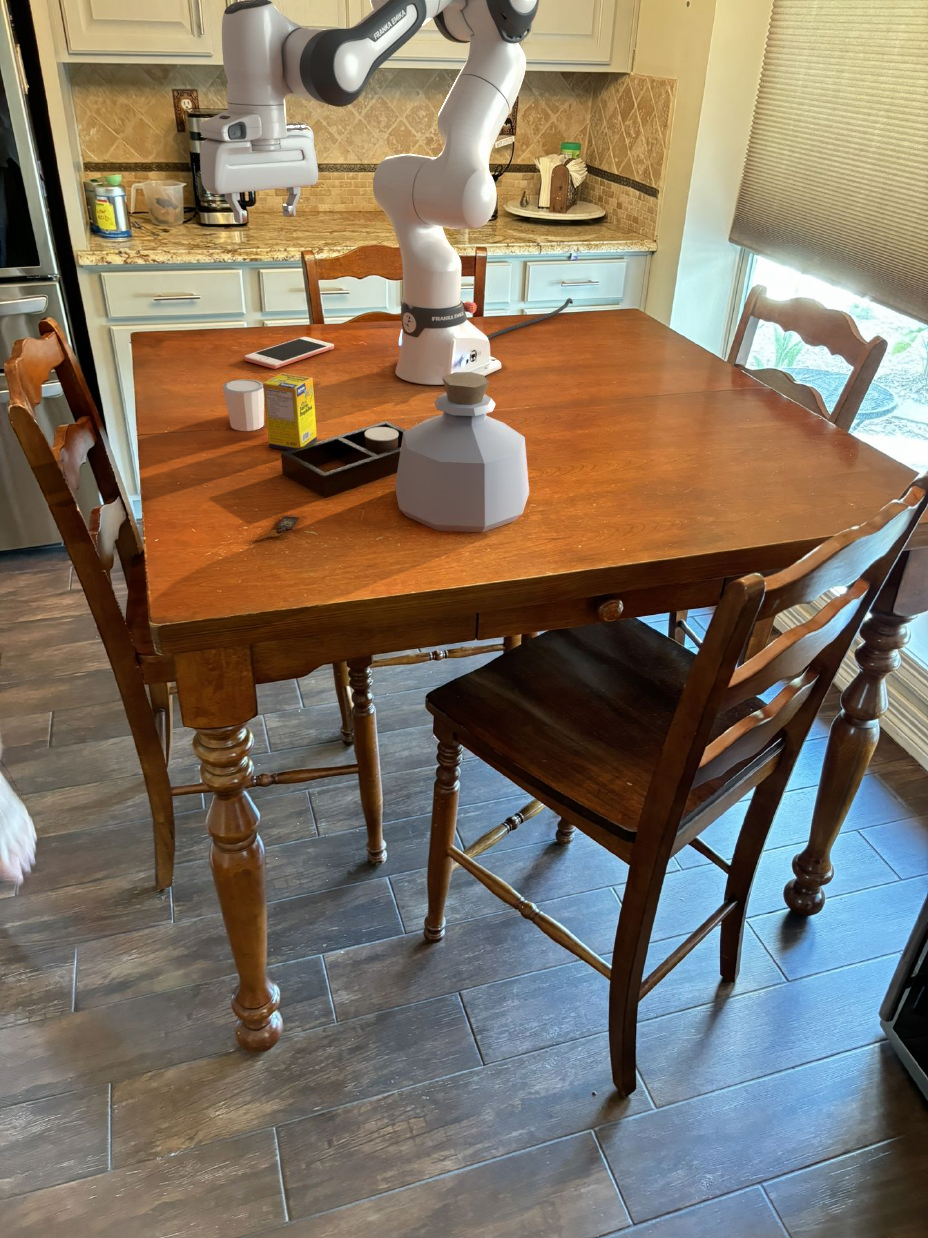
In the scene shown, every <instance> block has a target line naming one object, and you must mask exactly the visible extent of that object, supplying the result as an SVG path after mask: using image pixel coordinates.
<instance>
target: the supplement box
mask: <svg viewBox="0 0 928 1238" xmlns="http://www.w3.org/2000/svg"><path fill="white" fill-rule="evenodd" d="M263 390H264V412H265V419H266V428H267V429H266V430H267V438H268V440H267V441H268V447H269V448H272V449H278V450H285V451H290V450H293V449H296V448H300V447H303V446H306V445H309V444H313V443H316V442H317V440H318V438H317V421H316V420H317V419H316V407H315V392H314V378H313V377H310V376H304V375H298V374H297V375H296V374H292V373H285V372H279V373H278V374H276V375H275V376H273V377H272V378H269V379H268V380H266V381H264V382H263Z"/></svg>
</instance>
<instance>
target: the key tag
mask: <svg viewBox="0 0 928 1238" xmlns="http://www.w3.org/2000/svg"><path fill="white" fill-rule="evenodd" d="M298 520H299V516H290V515H289V516H288V515H284V516H282V518H281V520H280V521H279V523H278V524H277V526H276V529H272V530H271V529H270V530H269V531H268V533H265V535H261V536H259V537H256V538H255V542H258V541H261V540H264V539H268V538H269V539H270V538H278V537H280V536H281V535H282V534H283V533H285V532H286V530H289V531H293V529H294V527H295V526H296V524H297V522H298Z"/></svg>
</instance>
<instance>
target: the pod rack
mask: <svg viewBox="0 0 928 1238" xmlns="http://www.w3.org/2000/svg"><path fill="white" fill-rule="evenodd" d="M376 427H387V428H392V429H395V430H396V431H398V433H399V435H398V448H397V449H394V450H391V451H388V452H385V453H382V454H379V455H377V454H375V453H373V452H371V451H369V450H367V449H366V447H365V431H367V430H368V429H371V428H376ZM406 430H407V429H405V428H402V427H400V426H399V425H396V424H394V423H391V422H389V421H387V420H384V421H381V422H377V423H375V424H371V425H368V426H365V427H361V428H359V429H355V430H352V431H348V432H346V433H343V434H339V435H336V436H332V437H329V438H325V439H323V440H320V441H315V442H314V443H312V444H309V445H306V446H303V447H300V448H296V449H293V450H290V451H289V450H286V451H284V452H281V453H280V460H281V471H282V476H283V475H284V476H285V477H287V478H289V479H291V480H293V481H294V482H296V483H298V484H300V485H302V486H303V487H305V488H306V489H309V490H310V491H313V492H314V493H316V494H318V495H319V496H321V497H323V498H325V499H327V498H329V497H332V496H335V495H338V494H341V493H343V492H347V491H349V490H352V489H355V488H357V487H361V486H364V485H365V484H369V483H371V482H375V481H377V480H380V479H384V478H385V477H388V476H391V475H394V474H397V470H398V464H399V458H400V451H401V445H402V438H403V432H404V431H406ZM336 460H338V461H340V462H343V463H344V464H346V465H344V466H341V467H337V468H334V469H332V470H329V471H323V470H321V469H320V468H318V466H321V465H324V464H327V463H331V462H334V461H336Z"/></svg>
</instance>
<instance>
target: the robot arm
mask: <svg viewBox="0 0 928 1238" xmlns="http://www.w3.org/2000/svg"><path fill="white" fill-rule="evenodd" d="M369 2H370V6H371V10H372V11H371V12H369V13H368V14H367V15H366V16H365V17H363V18H362V19H360V20H359V22H357V23H356V24H355V25H353V26H352V27H348V28H327V29H326V28H308V27H302V25H301V24H299V23H297V22H294V21H293V20H291V19H290V18H288V16H286V15H284V14H283V13H282V12H281V11H280V10H279V9H277V7H276V6H275V4H274V2H273V1H271V0H240V1H235V2H232V3H231V4H229V5H228V6H226V8H225V9H224V11H223V14H222V20H221V22H222V23H221V51H222V53H221V54H222V62H223V63H222V64H223V70H224V71H223V72H224V74H225V77H226V80H227V95H226V104H227V105H226V106H227V109H225V110H224V111H222V112H221V113H218V114H217V115H214V116H212V117H210V118H208V119H206V120H204V121H201V122H200V124H199V132H200V135H201V137H203V138H204V139H205V140H203V141H202V143H201V146H200V149H199V150H200V151H199V160H200V161H199V165H200V167H199V168H200V178H201V183H202V186H203V188H204V189H205V191H206V192H208V193H210V194H213V195H224V198H225V201H226V202H227V204H228V205H229V207H230V209H231V210H232V213H233V215H232V216H233V221H234V222H235V223H236V224H243V223H244V224H245V223H248V211H247V210H244V209H242V207H241V205H240V204H239V202H238V201H240V200H241V196H240V193H249V192H250V193H251V192H258V191H268V190H269V191H270V190H278V189H279V190H280V189H285V191H286V193H287V194H288V196H287V199H286V203H284V204H281V209H282V216H283V217H286V218H293V217H294V218H295V217H296V215H297V211H296V206H297V204H298V201H299V200H300V199H299V198H300V197H301V193H302V192H301V187H310V186H316V184H317V182H318V180H319V167H318V166H319V165H318V159H317V154H316V149H315V134H314V131H313V130H312V128H311V127H310V126H309V125H307V124H306V122H299V121H298V122H287V112H286V96H287V97H290V98H294V99H302V100H305V101H311V102H312V101H313V102H318V103H319V102H320V103H323V104H325V105H328V106H331V107H336V108H342V107H344V108H345V107H347V106H350V105H351V104H353V103H354V102H355V101H357V100H358V99H359V98H360V96H361V95H362V94H363V92H364V90H365V89H366V88H367V86H368V84H369V82H370V80H371V78H372V77H373V75H374V74H375V73H376V71H377V70H378V69H379V68H380V67H381V66H382V65H383V64H384V63H385V62H386V61H387V60H388V59H390V58H391V57H392V56H393V55H395V53H397V51H399V50H400V49H401V48H402V47H403V46H404V45H406V44H407V42H409V41H410V40H411V39H412V38H413V37H414V36H415V35H416V34H417V33H418V32H419V31H420V29H421V28H422V27H423V26H424V25H425V24H427V23H428V22H429V21H431V20H433V22H434V24H435V26H436V28H437V30H438V32H439V33H440V34H441V35H442V36H443V37H444V38H445V39H446V40H447V41H449V42H452V43H456V44H469V50H468V55H467V58H466V61H465V64H464V65H463V67H462V68H461V70H460V72H459V74H458V75H457V77H456V79H455V81H454V83H453V85H452V87H451V89H450V91H449V92H448V94H447V96H446V98H445V100H444V102H443V104H442V106H441V108H440V109H439V111H438V114H437V119H436V120H437V121H436V122H437V129H438V133H439V135H440V138H441V139H442V140H443V142H444V145H443V148H442V150H441V152H440V154H439V155H437V156H436V157H431V156H425V155H419V154H414V153H413V154H412V153H405V154H398V155H391V156H387V157H385V158H384V159H383V160H381V161H380V163H379V164H378V165H377V167H376V169H375V171H374V174H373V179H372V193H373V196H374V200H375V202H376V204H377V205H378V207H379V208H380V209H381V210H382V211H383V212H384V214H385V216H386V218H387V219H388V220H389V222H390V224H391V227H392V229H393V232H394V235H395V237H396V240H397V244H398V247H399V252H400V257H401V265H402V267H401V269H402V299H401V301H400V321H401V325H402V326H401V327H402V329H401V330H400V335H399V339H398V346H399V353H398V358H397V362H396V363H397V364H396V368H395V370H394V373H395V375H396V376H397V378H399V379H401V380H404V381H407V382H409V383H414V384H420V385H429V386H430V385H431V386H433V385H434V386H435V385H436V386H437V385H438V386H439V385H441V386H443V385H444V382H443V378H442V377H444V376H447V375H449V374H452V373H455V372H473V373H477V374H481V375H484V377H485V376H487V375H490V374H493V373H495V372H497V371H498V370H501V369H502V363H501V361H500V360H498V359H497V358H495V357H493V356H491V344H490V340H491V339H493V338H497V337H498V336H501V335H504V334H506V333H509V332H511V331H516V330H518V329H522V328H524V327H528V326H530V325H534V324H537V323H539V322H542V321H544V320H547V319H550V318H551V317H554V316H556V315H557V314H559V313H561V312H563V311H564V310H565V309H566V308H568V306H569V305H573V304H574V302H573V299H572V298H571V297H568V298H567V299H566V301H565V302H564V303H563V305H561V306H560V307H558V308H557V309H555V310H553V311H551V312H549V313H547V314H544V315H542V316H539V317H536V318H534V319H530V320H527V321H524V322H521V323H517V324H515V325H511V326H508V327H505V328H502V329H500V330H497V331H494V332H492V333H489V334H488V335H486V334H485V333H484V332H482V330H480V329H478V327H477V326H475V324H473V323H472V322H471V321H470V320H468V317H467V314H466V313H467V312H468V313H470V314H475V312H476V311H477V308H478V305H477V304H476V302H471V301H469V300H466V301H465V302H463V301H462V299H461V297H462V267H463V266H462V261H461V260H462V259H461V257H460V255H459V254H458V252H457V251H456V250H455V249H454V248H453V247H452V246H451V244H450V243H449V241H448V239H447V236H446V233H445V231H444V228H446V229H451V230H455V231H456V230H457V231H458V230H459V231H460V230H472V229H480V228H482V227H483V226H485V225H486V224H487V223H488V222H489V221H490V219H491V218H492V216H493V214H494V211H495V209H496V206H497V200H498V199H497V198H498V193H497V192H498V191H497V186H496V183H495V180H494V178H493V175H492V174H491V172H490V157H491V153H492V150H493V148H494V145H495V143H496V141H497V139H498V137H499V134H500V133H501V130H502V129H503V126H504V125H505V123H506V120H507V119H508V116H509V115H510V113H511V111H512V108H513V106H514V104H515V102H516V99H517V97H518V94H519V92H520V90H521V86H522V83H523V80H524V77H525V73H526V69H527V58H526V55H525V52H524V50H523V49H522V47H521V45H520V42H523V41H524V40H525V39H526V38H527V37H528V36H529V35H530V33H531V31H532V27H533V26H532V25H533V21H534V20H535V18H536V16H537V13H538V9H539V5H540V0H369Z"/></svg>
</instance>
